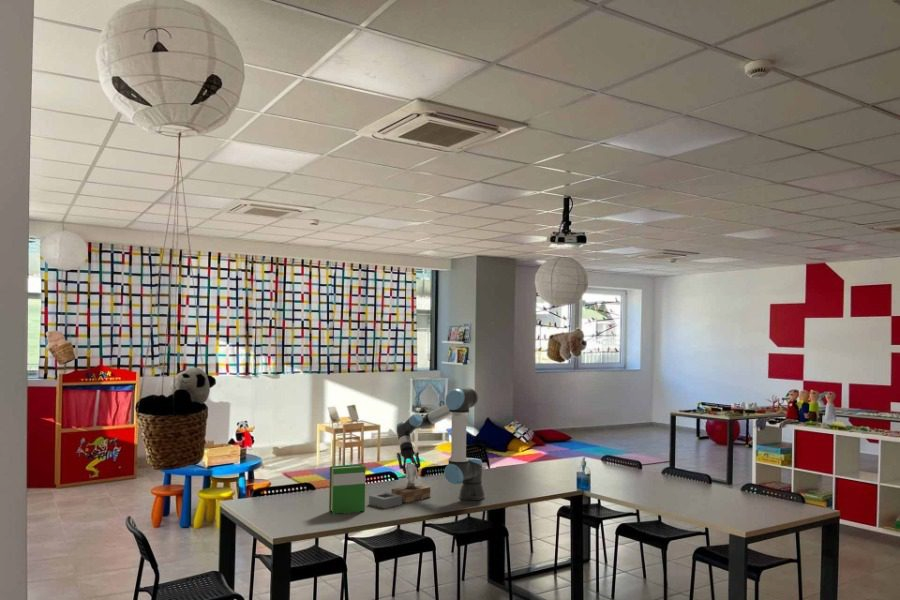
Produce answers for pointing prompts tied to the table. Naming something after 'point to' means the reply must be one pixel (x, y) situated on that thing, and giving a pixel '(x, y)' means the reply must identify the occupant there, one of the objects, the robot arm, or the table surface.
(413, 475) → the translucent white cylinder
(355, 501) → the hardback book
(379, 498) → the socket
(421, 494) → the tan hollow box
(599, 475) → the table surface
